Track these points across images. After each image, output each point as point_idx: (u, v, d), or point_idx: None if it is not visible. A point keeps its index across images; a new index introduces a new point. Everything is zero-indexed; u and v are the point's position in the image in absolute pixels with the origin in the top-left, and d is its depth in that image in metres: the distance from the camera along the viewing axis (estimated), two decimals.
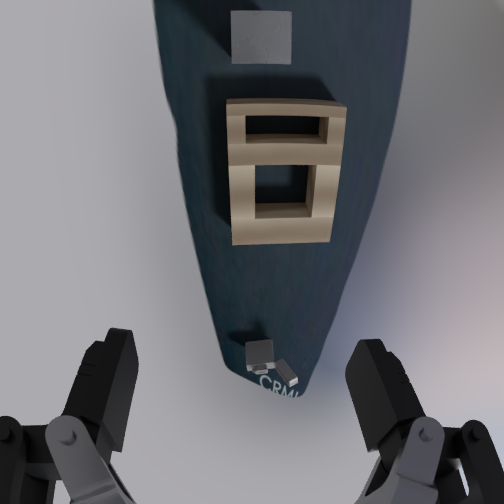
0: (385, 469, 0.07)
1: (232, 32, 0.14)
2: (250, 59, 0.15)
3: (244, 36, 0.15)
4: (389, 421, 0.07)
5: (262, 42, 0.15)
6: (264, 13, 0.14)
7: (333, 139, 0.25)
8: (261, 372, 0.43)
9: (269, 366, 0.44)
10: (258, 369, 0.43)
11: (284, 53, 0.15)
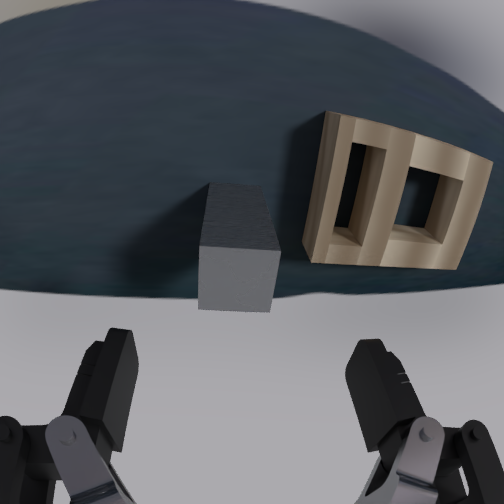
0: (385, 469, 0.07)
1: (228, 309, 0.15)
2: (267, 294, 0.14)
3: (235, 299, 0.15)
4: (389, 421, 0.07)
5: (246, 281, 0.14)
6: (203, 277, 0.14)
7: (382, 139, 0.17)
8: None
9: None
10: None
11: (264, 258, 0.13)
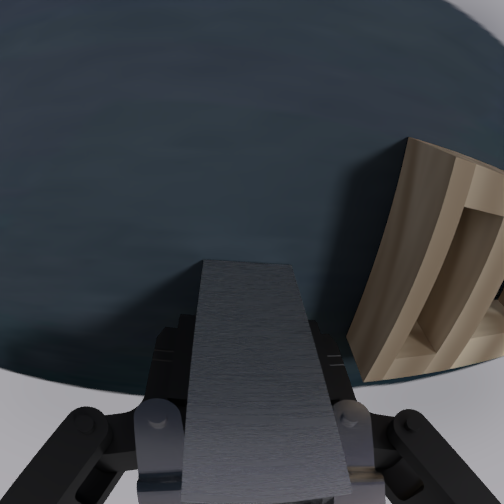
0: None
1: None
2: None
3: None
4: None
5: None
6: None
7: (502, 201, 0.08)
8: None
9: None
10: None
11: (317, 503, 0.05)
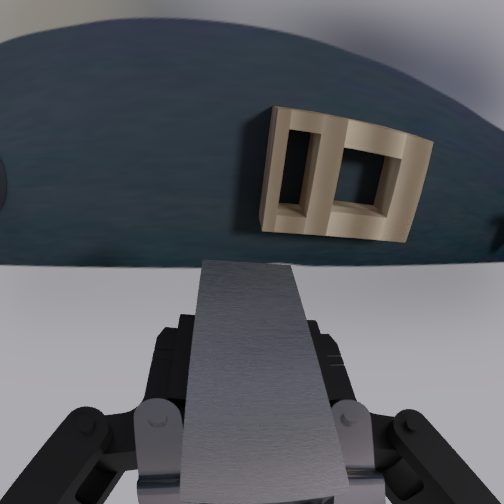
0: None
1: None
2: None
3: None
4: None
5: None
6: None
7: (316, 125, 0.21)
8: None
9: None
10: None
11: (315, 502, 0.05)
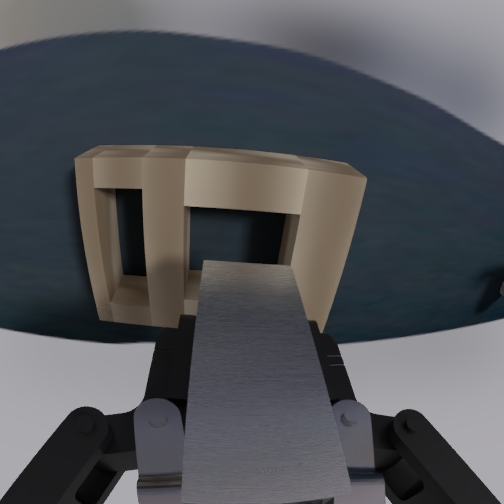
0: None
1: None
2: None
3: None
4: None
5: None
6: None
7: (132, 177, 0.13)
8: None
9: None
10: None
11: (317, 503, 0.05)
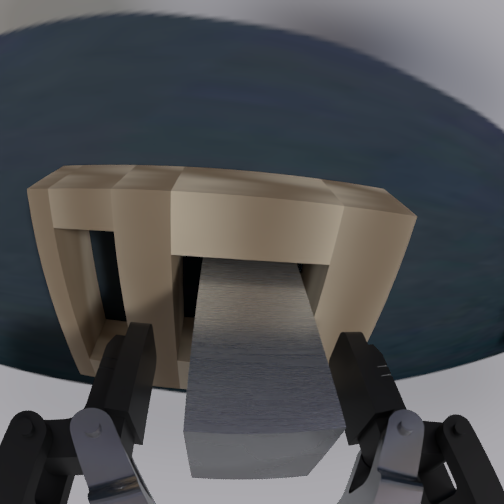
0: (367, 464, 0.07)
1: None
2: (308, 464, 0.07)
3: (253, 472, 0.07)
4: (368, 413, 0.08)
5: (274, 459, 0.06)
6: (195, 457, 0.06)
7: (99, 215, 0.09)
8: None
9: None
10: None
11: (313, 439, 0.06)
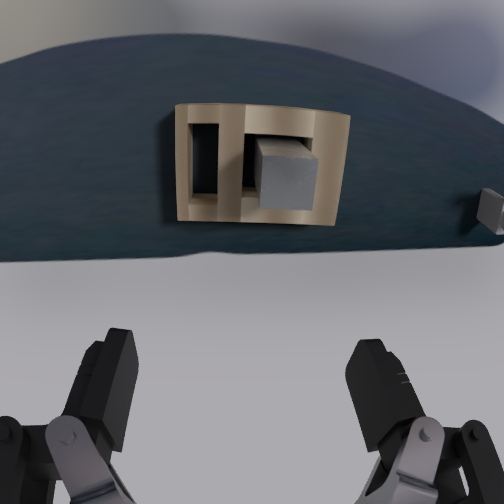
0: (385, 469, 0.07)
1: (281, 208, 0.20)
2: (310, 194, 0.20)
3: (287, 199, 0.20)
4: (389, 421, 0.07)
5: (295, 183, 0.19)
6: (264, 180, 0.19)
7: (213, 116, 0.22)
8: None
9: None
10: None
11: (307, 164, 0.18)
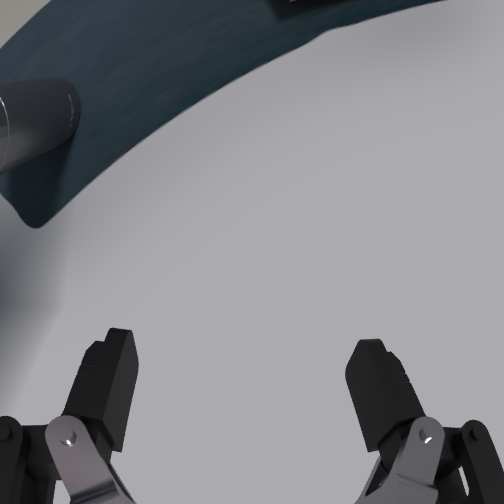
0: (385, 469, 0.07)
1: None
2: None
3: None
4: (389, 421, 0.07)
5: None
6: None
7: None
8: None
9: None
10: None
11: None
